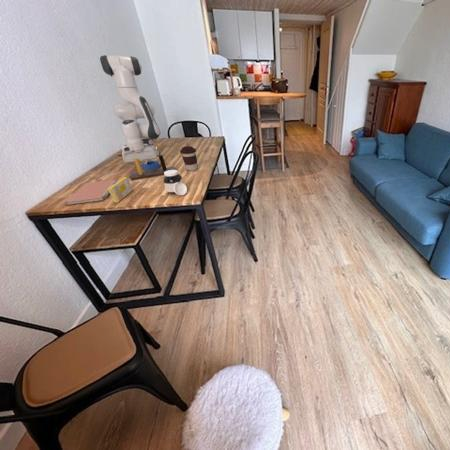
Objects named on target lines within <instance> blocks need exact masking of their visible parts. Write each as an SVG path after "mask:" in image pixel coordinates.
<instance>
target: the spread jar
mask: <svg viewBox="0 0 450 450" xmlns="http://www.w3.org/2000/svg"><path fill="white" fill-rule="evenodd" d="M163 176H164V177H163V186H164V188H165V191H166V192H167V193H168V194H171V195H177V196H184V195H185V194H187V192H188V187H187V186H186V184H185V183H184V179H183V176H182V175H181V174H179V171H178V170H177V169H175V170H168V171H165V172H164V175H163Z"/></svg>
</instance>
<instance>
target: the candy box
mask: <svg viewBox="0 0 450 450" xmlns="http://www.w3.org/2000/svg"><path fill="white" fill-rule="evenodd" d="M108 190H109V192H110V193H109V195H110V196H111V199H112V201H113V202H114V204H119V203H120V202H121V201H122V200H123V199H124V198H125V197H127V196H128V195H129V194H131V193H132V192H133V191H134V189H133V186H132V184H131V182H130V180H129V178H128V176H124V177H122V178H120V179H119V180H118V181H117V183H115V184H114V185H112V186H111V187H109V188H108Z"/></svg>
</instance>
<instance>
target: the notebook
mask: <svg viewBox="0 0 450 450" xmlns="http://www.w3.org/2000/svg"><path fill="white" fill-rule="evenodd" d="M117 182H118V181H117V179H111V180H110V179H109V180H101V181H93V182H92V181H91V182H85V183H83V184H82V185H81V186H80V188H78V190H76V192H74V193H73V194H72V195H71V196H69V198H68V199H67V200H66V201H65V203H66V205H67V206H69V205H76V204H84V203H92V202H100V201H101V202H102V201H104V200H105V199H107V197H109V195H110V192H109V190H108V188H109V187H111V186H112V185H114V184H115V183H117Z"/></svg>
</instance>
